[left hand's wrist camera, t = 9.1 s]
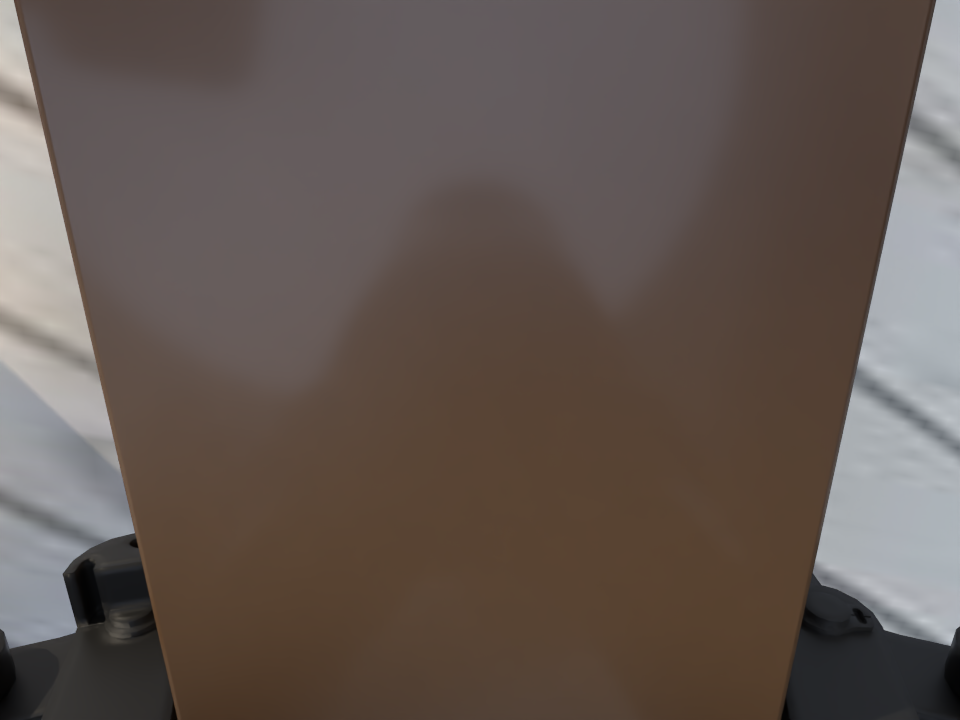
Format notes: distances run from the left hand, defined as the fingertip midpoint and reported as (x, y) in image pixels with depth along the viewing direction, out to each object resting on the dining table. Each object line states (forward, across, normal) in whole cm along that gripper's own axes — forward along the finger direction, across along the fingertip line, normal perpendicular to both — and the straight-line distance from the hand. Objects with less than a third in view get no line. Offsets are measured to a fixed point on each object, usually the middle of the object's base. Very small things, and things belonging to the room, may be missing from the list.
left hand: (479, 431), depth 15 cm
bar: (+1, 0, -12) cm, 12 cm away
